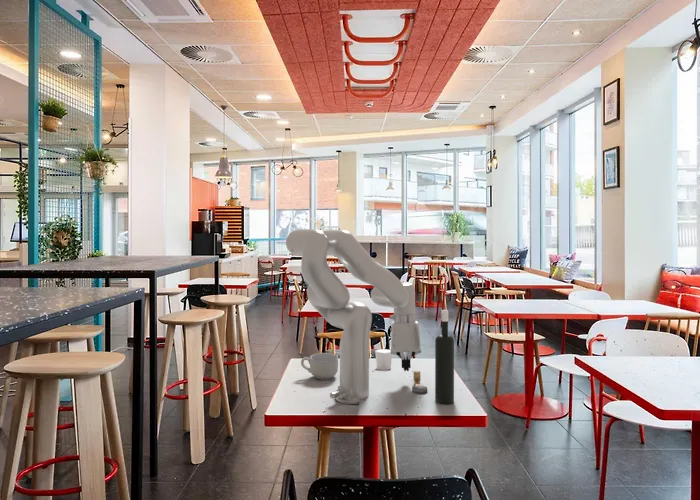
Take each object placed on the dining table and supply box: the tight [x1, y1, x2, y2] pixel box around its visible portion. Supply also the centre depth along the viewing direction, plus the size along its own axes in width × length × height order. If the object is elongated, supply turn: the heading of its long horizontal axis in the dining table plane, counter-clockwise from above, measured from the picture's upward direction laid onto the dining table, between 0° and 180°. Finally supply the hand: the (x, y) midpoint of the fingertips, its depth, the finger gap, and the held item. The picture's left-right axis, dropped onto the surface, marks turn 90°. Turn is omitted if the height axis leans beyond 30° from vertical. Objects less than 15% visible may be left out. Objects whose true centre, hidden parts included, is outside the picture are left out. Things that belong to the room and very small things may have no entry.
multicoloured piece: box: [411, 370, 428, 395], centre depth 172 cm, size 13×5×4 cm, turn 178°
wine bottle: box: [434, 309, 455, 406], centre depth 158 cm, size 6×6×30 cm
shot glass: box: [374, 348, 393, 371], centre depth 203 cm, size 7×7×7 cm
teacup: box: [300, 352, 339, 381], centre depth 190 cm, size 14×11×8 cm
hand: (406, 369), depth 178 cm, fingers closed
